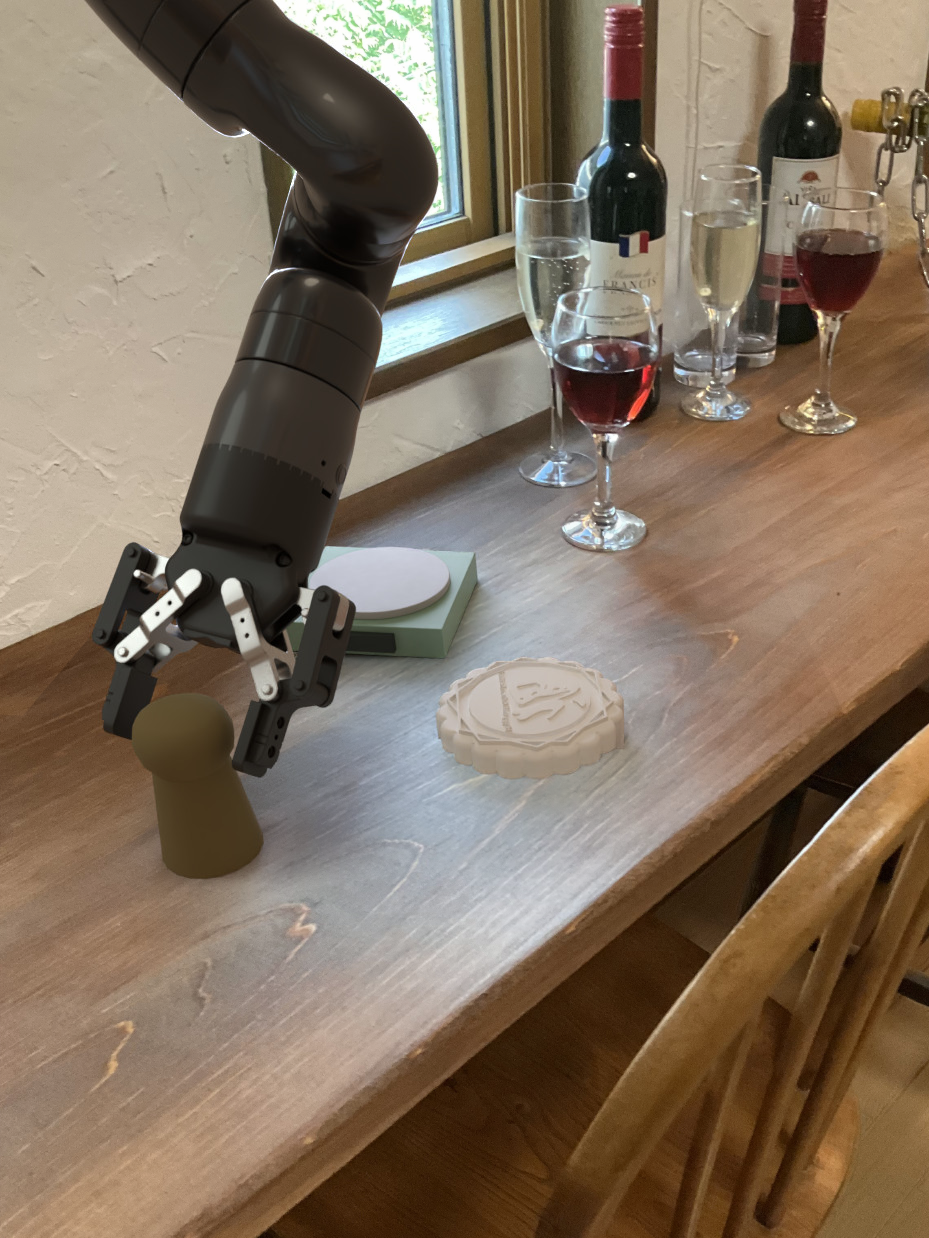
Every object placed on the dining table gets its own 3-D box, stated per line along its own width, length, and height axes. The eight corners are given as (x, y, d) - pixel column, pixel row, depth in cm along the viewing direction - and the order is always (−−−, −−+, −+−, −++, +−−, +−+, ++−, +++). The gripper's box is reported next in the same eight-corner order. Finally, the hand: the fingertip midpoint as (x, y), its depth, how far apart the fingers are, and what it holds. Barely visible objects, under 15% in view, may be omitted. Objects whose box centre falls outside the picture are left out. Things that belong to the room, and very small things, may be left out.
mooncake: (637, 790, 79) (637, 743, 76) (443, 809, 77) (437, 761, 75) (611, 687, 88) (610, 642, 86) (437, 702, 87) (431, 656, 84)
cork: (158, 851, 75) (109, 692, 68) (261, 824, 76) (224, 667, 70) (173, 915, 70) (123, 752, 63) (282, 885, 72) (245, 724, 65)
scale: (280, 654, 92) (273, 617, 90) (330, 573, 102) (324, 538, 100) (443, 662, 91) (439, 625, 89) (477, 579, 101) (474, 544, 99)
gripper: (123, 419, 68) (29, 709, 67) (349, 460, 63) (251, 773, 62) (208, 476, 75) (124, 739, 74) (417, 517, 70) (329, 799, 69)
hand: (182, 754), depth 68 cm, fingers open, 8 cm apart
